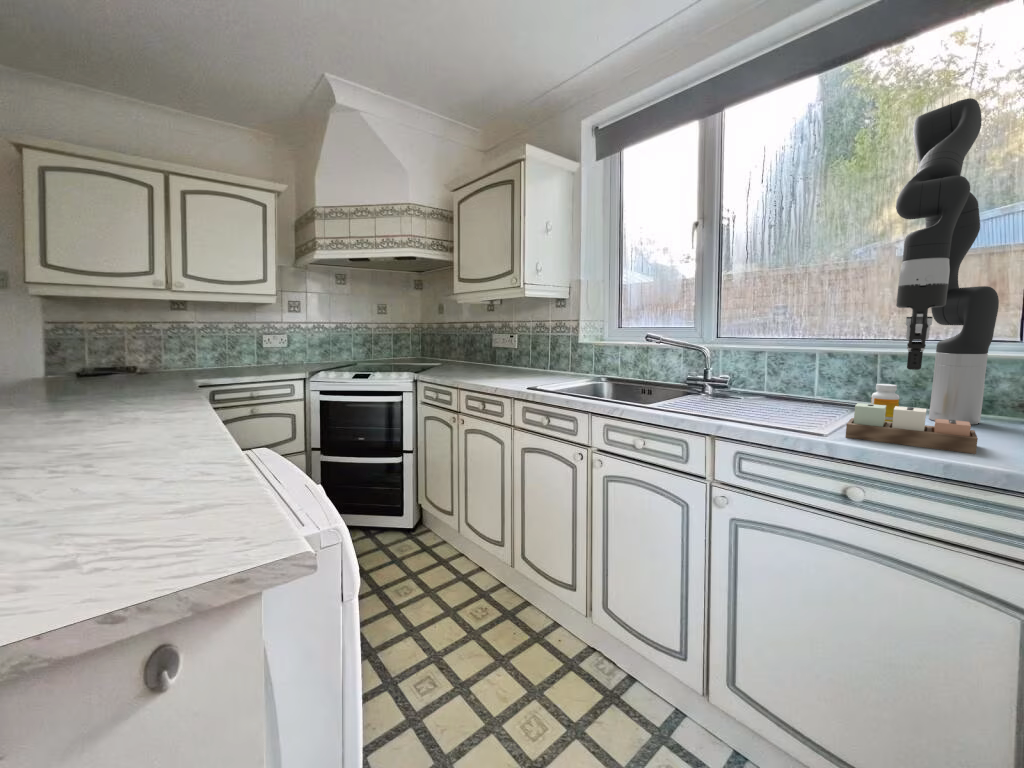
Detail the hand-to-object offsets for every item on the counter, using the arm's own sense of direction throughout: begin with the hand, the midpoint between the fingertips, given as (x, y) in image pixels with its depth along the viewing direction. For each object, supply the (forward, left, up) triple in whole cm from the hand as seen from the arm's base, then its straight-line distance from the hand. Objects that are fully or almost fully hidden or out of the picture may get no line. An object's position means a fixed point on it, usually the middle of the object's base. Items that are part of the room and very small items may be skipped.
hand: (913, 369), depth 94 cm
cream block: (0, 0, -12) cm, 12 cm away
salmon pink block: (-4, +6, -14) cm, 16 cm away
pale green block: (+3, -6, -12) cm, 14 cm away
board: (0, 0, -15) cm, 15 cm away
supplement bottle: (-14, -14, -15) cm, 25 cm away
